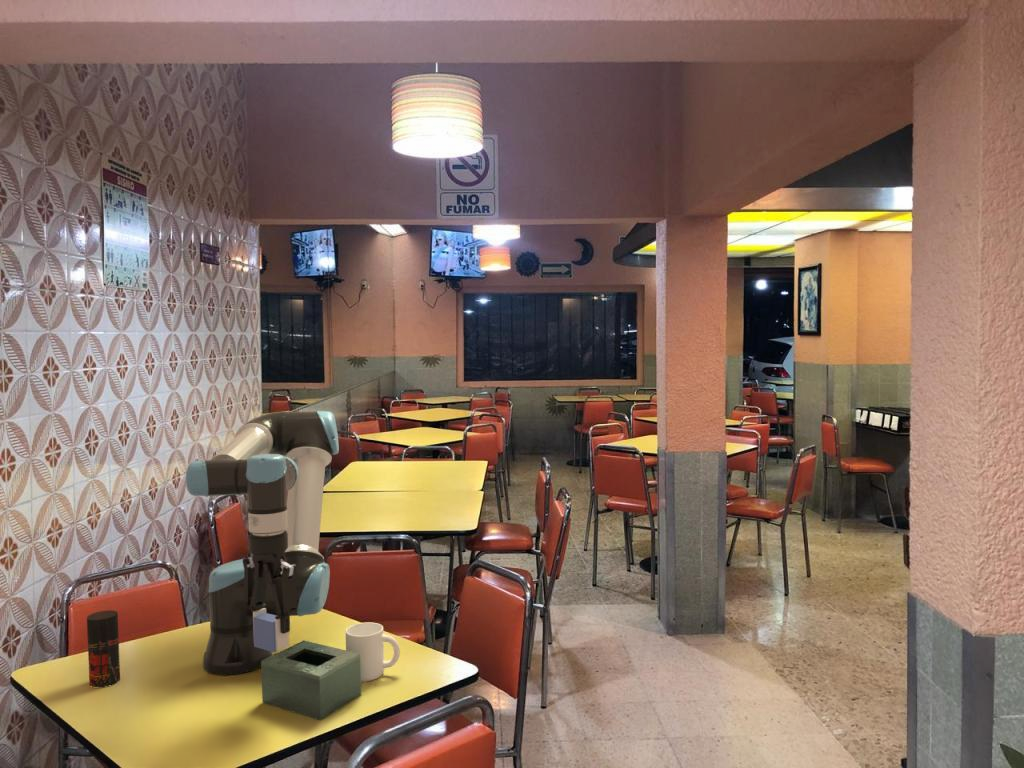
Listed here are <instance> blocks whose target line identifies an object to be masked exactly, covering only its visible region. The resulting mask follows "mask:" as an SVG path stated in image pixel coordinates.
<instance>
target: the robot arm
mask: <svg viewBox="0 0 1024 768" xmlns="http://www.w3.org/2000/svg"><path fill="white" fill-rule="evenodd" d="M339 444H340V443H339V435H338V428H337V422H336V418H335V415H334V414H333V412H331V411H328V410H326V411H322V410H320V411H319V410H315V411H311V410H310V411H274V412H269V413H266V414H263V415H260V416H258V417H255V418H252V419H251V420H249V421H247V422H246V423H244V424H243V425H242V426H241V427H239V429H238V430H236V432H235V434H234V438H233V439H232V440H231V441H230V442H229V443H227V444H226V445H225V446H224V447H223V448H222V449H221V450H220V451H219V452H218V453H216V454H215V455H214V456H212V458H211V459H209V460H207V459H202V460H193V461H191V462H190V463H189V464H188V466H187V469H186V473H185V484H186V485H185V486H186V491H187V493H188V494H190V495H191V496H193V497H199V496H200V497H201V496H202V497H206V498H207V497H217V496H218V497H219V496H221V497H223V496H241V495H242V496H243V495H246V496H247V513H248V514H247V517H248V521H247V522H248V532H249V535H248V551H249V553H250V554H252V556H248V557H245V558H241V559H236V560H232V561H229V562H226V563H223V564H220V565H219V566H217V567H215V568H214V569H213V570H211V572H210V574H209V577H208V584H209V585H208V589H207V592H208V596H209V597H208V599H209V602H208V603H209V623H210V624H209V625H210V630H209V631H210V634H209V638H208V641H207V645H206V649H205V652H204V654H203V656H202V657H203V658H202V662H203V663H202V664H203V665H202V666H203V670H204V671H206V672H207V673H210V674H214V675H221V676H223V675H224V676H228V675H238V674H239V675H240V674H243V673H248V672H251V671H255V670H258V669H259V668H260V669H261V661H262V660H264V659H266V658H268V657H270V656H272V655H273V652H271V651H267V650H264V649H261V648H257V647H254V617H256V616H259V615H262V614H265V613H268V614H272V615H276V617H275V640H276V650H278V651H279V652H280V651H282V650H284V649H287V648H289V647H290V636H289V635H290V634H289V633H290V630H291V620H290V619H291V618H290V617H295V616H297V617H303V616H309V615H316V614H318V613H320V612H321V611H322V610H323V608H324V606H325V604H326V600H327V597H328V594H329V590H330V589H329V588H330V577H331V569H330V565H329V564H328V563H326V562H325V557H324V555H322V554H321V553H320V551H319V546H320V545H319V544H320V535H321V534H320V533H321V521H322V520H321V519H322V511H323V496H324V484H325V471H326V467H327V466H328V465H329V464H331V463H332V458H333V456H334V455H338V454H339V452H340V451H339V449H340V446H339ZM287 491H288V492H287ZM278 651H277V652H278Z"/></svg>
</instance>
